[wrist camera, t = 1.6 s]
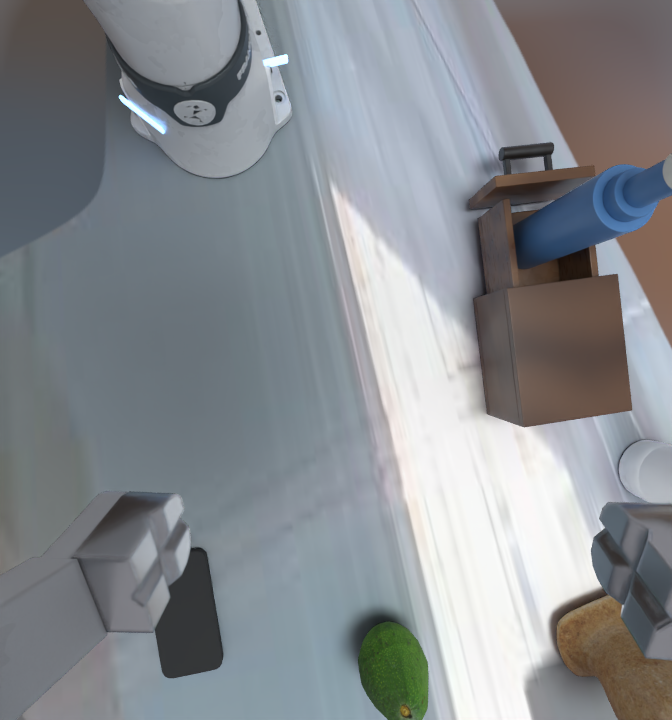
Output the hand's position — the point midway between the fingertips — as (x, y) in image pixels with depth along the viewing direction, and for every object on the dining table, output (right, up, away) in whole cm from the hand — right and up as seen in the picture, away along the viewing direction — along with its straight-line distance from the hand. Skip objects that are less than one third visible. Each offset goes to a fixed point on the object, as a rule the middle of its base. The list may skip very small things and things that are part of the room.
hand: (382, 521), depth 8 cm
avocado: (+5, -32, +43) cm, 54 cm away
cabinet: (+24, +4, +43) cm, 50 cm away
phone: (-19, -28, +41) cm, 53 cm away
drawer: (+22, +19, +42) cm, 51 cm away
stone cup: (+36, -33, +45) cm, 67 cm away
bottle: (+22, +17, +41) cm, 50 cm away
